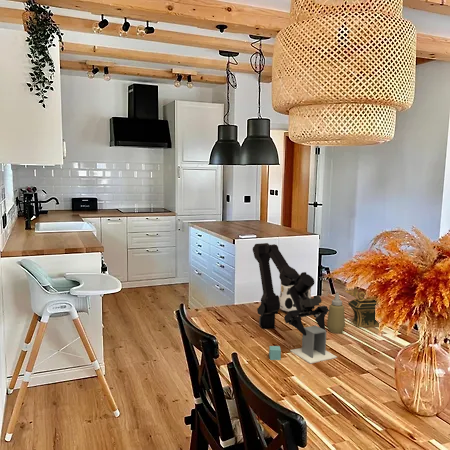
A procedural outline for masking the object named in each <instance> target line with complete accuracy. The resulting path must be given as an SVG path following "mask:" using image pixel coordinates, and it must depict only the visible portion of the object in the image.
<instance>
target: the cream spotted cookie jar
mask: <svg viewBox="0 0 450 450" xmlns="http://www.w3.org/2000/svg"><path fill="white" fill-rule="evenodd" d="M298 274H299V275H300V274H301V273H298ZM292 286H293V285H292ZM292 286H284V285H283V284H282V282H281V281H280V293H279V295H278V296H279V302H280V308H279V310H281V311H282V312H285V313H286V314H287V313H288V312H289V311H293V310H297V309H296V307H293V304H294V302H293V300H292V298H291V295H287V291H288V288H291V287H292ZM311 290H312V287H311V288H310V289H309V290H308V291H307V292H306V293H305V295H306V297H309V298H312V293H311Z"/></svg>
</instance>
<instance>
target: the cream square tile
mask: <svg viewBox="0 0 450 450" xmlns="http://www.w3.org/2000/svg"><path fill="white" fill-rule="evenodd" d="M290 353H293V354H294V355H296V356H297V357H299V358H300V359H302V360H304V362H307V364H315V363H316V364H317V363H321V362H325V361H328V360H333V359H338V356H337V355H335V354H333V353H331V352H330V351H328V350H326V351H325V355H323V354H321V353H319V352H318V351H316V350H313V358H311V357H310V356H308V355H306V354H305V353H303V352H302V347H299V348H294V349H293V348H292V349H290ZM320 361H321V362H320Z"/></svg>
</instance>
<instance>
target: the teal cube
mask: <svg viewBox="0 0 450 450" xmlns="http://www.w3.org/2000/svg"><path fill="white" fill-rule="evenodd" d="M268 348H269V349H268V350H269V351H268V356H269V360H270V361H281V359H282V358H281V356H282V355H281V354H282V350H281V346H280V345H269V347H268Z"/></svg>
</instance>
